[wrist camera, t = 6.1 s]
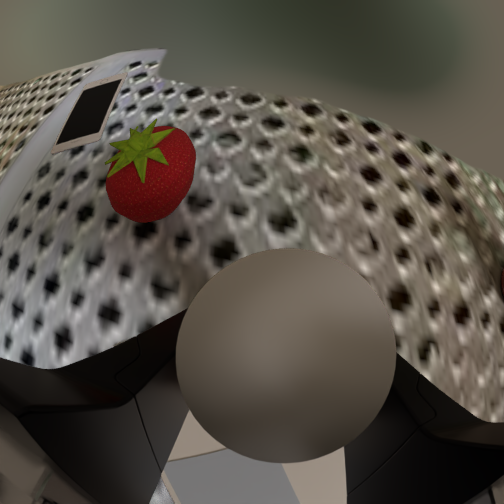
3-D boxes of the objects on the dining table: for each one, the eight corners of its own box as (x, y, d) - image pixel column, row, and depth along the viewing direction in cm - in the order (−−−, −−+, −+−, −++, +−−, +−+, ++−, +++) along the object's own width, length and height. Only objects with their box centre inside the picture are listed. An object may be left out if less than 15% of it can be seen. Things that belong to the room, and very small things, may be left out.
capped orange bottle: (262, 415, 13) (281, 500, 4) (211, 359, 14) (133, 341, 5) (319, 364, 14) (430, 349, 5) (268, 310, 16) (294, 210, 6)
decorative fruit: (220, 187, 24) (205, 92, 15) (176, 261, 21) (127, 183, 12) (165, 169, 25) (134, 83, 16) (120, 235, 22) (60, 160, 13)
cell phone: (129, 74, 34) (128, 71, 33) (101, 143, 27) (99, 139, 27) (86, 87, 33) (85, 84, 33) (52, 157, 27) (49, 154, 27)
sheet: (204, 545, 12) (203, 549, 11) (117, 350, 18) (114, 350, 18) (397, 478, 14) (400, 480, 13) (319, 281, 20) (321, 278, 20)
